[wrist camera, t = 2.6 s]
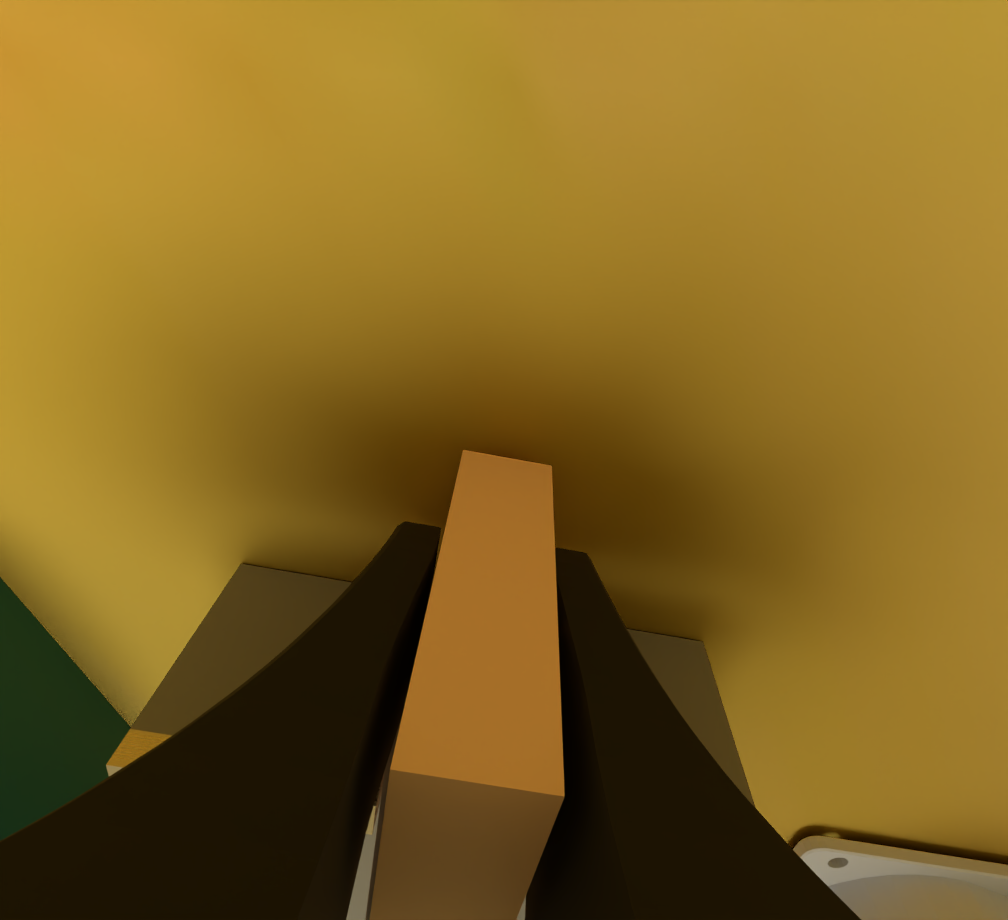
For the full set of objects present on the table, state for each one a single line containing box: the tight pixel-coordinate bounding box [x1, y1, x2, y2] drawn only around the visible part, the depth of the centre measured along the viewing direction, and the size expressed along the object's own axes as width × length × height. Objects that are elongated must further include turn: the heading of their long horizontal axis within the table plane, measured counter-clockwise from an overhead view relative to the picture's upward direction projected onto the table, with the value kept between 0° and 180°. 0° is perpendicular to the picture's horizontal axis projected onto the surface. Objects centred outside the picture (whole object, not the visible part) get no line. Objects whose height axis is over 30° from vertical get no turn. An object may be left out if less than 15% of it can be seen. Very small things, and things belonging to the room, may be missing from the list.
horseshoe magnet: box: [106, 564, 755, 920], centre depth 14 cm, size 13×10×6 cm
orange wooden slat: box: [370, 450, 565, 920], centre depth 10 cm, size 10×2×6 cm, turn 170°
